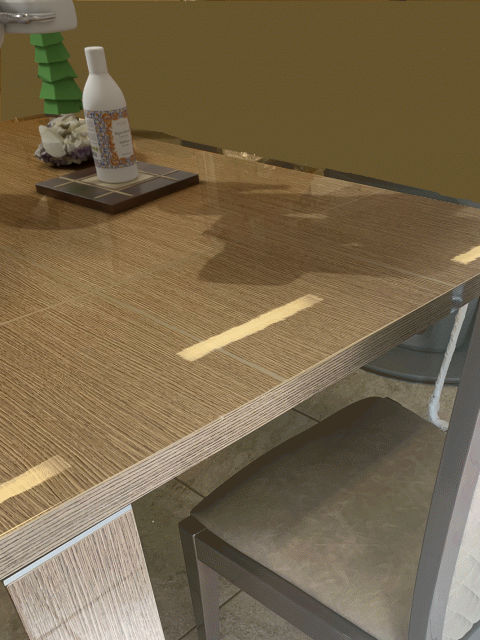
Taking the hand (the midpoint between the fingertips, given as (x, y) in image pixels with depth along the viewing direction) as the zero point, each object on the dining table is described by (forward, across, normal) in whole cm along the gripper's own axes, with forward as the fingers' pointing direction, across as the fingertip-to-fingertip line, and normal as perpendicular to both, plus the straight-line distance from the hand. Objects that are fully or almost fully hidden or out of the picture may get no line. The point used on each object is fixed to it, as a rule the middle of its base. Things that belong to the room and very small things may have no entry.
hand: (34, 7), depth 88 cm
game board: (+12, 0, +28) cm, 30 cm away
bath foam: (+12, 0, +26) cm, 29 cm away
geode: (+25, +18, +28) cm, 42 cm away
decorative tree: (+43, +30, +28) cm, 60 cm away
